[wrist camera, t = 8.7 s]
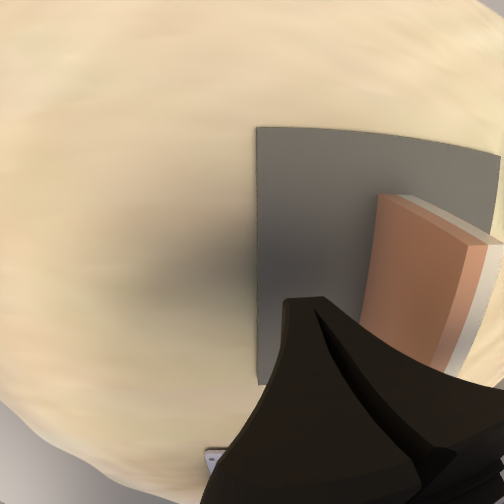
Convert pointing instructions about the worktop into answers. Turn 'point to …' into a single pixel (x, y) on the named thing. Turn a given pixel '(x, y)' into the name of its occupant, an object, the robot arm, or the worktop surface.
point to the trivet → (346, 211)
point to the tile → (428, 281)
